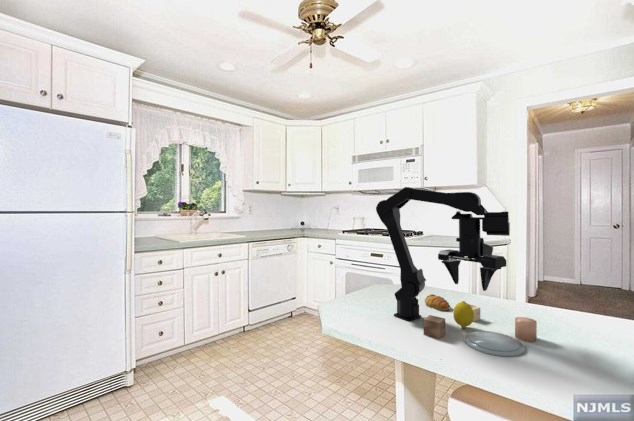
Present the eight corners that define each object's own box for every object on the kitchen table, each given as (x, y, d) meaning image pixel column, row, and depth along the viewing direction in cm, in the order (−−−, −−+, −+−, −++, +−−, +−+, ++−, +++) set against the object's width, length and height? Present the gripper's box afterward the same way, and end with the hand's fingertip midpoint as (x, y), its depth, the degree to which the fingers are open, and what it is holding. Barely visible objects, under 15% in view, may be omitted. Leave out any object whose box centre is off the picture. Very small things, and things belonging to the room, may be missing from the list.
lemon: (475, 332, 94) (476, 304, 94) (455, 330, 95) (455, 303, 95) (470, 325, 99) (470, 298, 99) (451, 323, 101) (451, 298, 100)
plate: (453, 341, 88) (453, 336, 88) (482, 329, 96) (482, 325, 96) (507, 362, 76) (508, 357, 76) (535, 346, 84) (535, 342, 84)
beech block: (455, 316, 107) (455, 304, 107) (463, 314, 109) (463, 302, 109) (473, 322, 102) (473, 309, 102) (480, 319, 104) (480, 307, 104)
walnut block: (423, 335, 93) (423, 319, 93) (429, 330, 96) (429, 315, 96) (439, 339, 90) (439, 322, 90) (445, 334, 93) (445, 318, 93)
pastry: (455, 310, 114) (455, 299, 114) (439, 313, 111) (439, 301, 111) (437, 302, 123) (437, 292, 122) (422, 305, 120) (422, 294, 120)
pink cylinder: (511, 337, 90) (511, 319, 90) (520, 333, 93) (520, 315, 93) (531, 343, 86) (531, 324, 86) (539, 339, 89) (540, 320, 89)
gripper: (517, 235, 92) (517, 290, 93) (459, 231, 109) (459, 277, 109) (493, 237, 87) (494, 296, 87) (436, 233, 103) (437, 282, 103)
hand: (470, 287), depth 97 cm, fingers open, 9 cm apart
